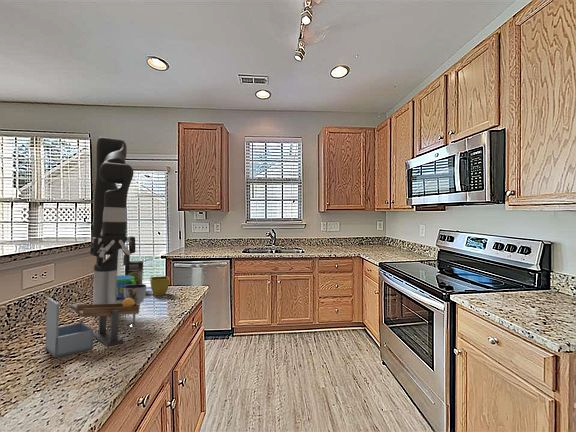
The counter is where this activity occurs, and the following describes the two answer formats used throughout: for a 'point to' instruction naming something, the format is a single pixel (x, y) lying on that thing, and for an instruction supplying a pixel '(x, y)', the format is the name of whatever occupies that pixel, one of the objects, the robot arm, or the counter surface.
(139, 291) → the wine glass
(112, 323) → the lever stand
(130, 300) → the ball
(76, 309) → the lever
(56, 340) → the grey-blue open bin
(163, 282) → the flower pot
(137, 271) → the coffee box
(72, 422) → the counter surface
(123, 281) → the snack cup
